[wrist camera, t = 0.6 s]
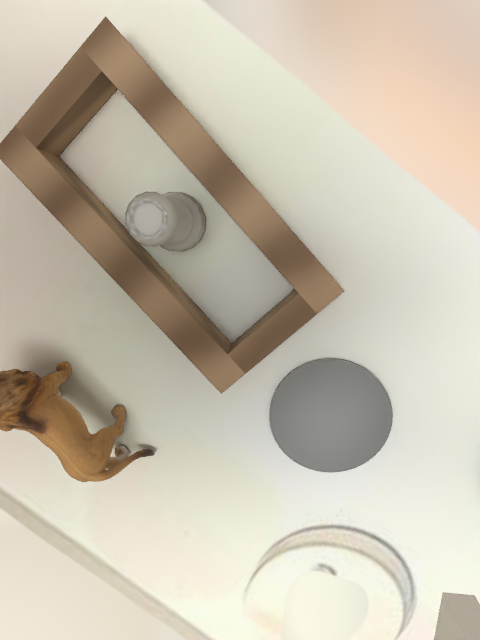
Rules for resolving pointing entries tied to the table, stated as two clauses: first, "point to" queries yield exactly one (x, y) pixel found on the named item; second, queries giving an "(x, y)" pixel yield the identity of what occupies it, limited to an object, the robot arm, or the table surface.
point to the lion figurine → (62, 424)
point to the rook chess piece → (166, 220)
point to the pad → (330, 415)
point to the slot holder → (116, 242)
